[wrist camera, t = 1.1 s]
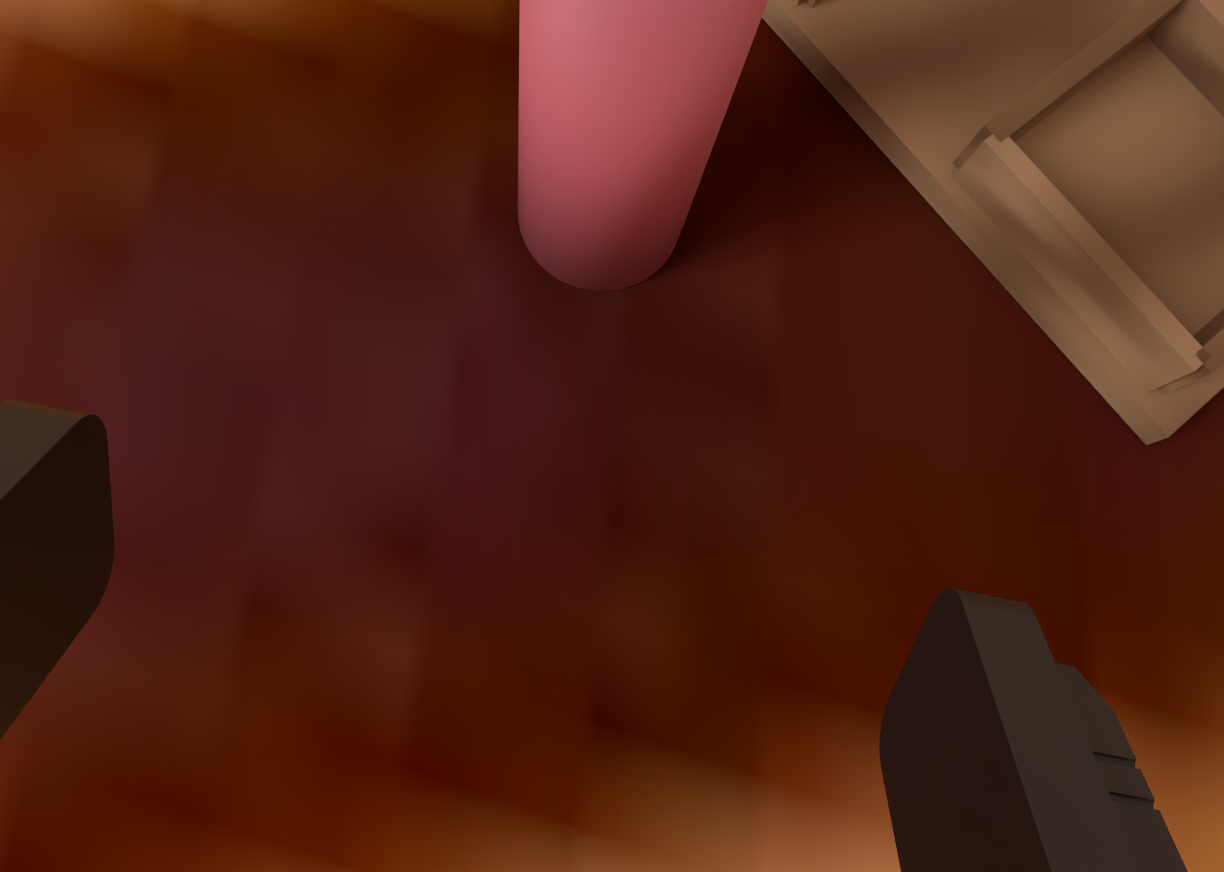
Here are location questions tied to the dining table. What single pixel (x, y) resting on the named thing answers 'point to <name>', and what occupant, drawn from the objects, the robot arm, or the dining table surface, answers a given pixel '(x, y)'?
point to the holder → (1059, 165)
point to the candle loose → (620, 127)
